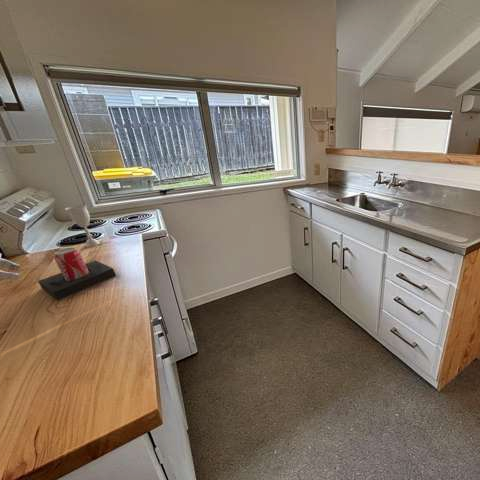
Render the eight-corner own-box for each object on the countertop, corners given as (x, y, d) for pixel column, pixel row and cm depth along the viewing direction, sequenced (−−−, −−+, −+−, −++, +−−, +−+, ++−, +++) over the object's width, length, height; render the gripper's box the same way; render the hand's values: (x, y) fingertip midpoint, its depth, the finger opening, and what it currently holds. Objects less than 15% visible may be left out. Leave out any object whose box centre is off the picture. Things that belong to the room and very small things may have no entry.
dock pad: (57, 300, 79) (53, 292, 78) (42, 288, 85) (37, 281, 84) (116, 275, 91) (113, 268, 90) (98, 267, 98) (95, 260, 97)
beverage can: (63, 286, 86) (46, 254, 81) (83, 276, 92) (68, 246, 87) (77, 288, 85) (61, 255, 80) (96, 278, 90) (82, 247, 85)
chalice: (82, 249, 115) (64, 210, 108) (82, 244, 120) (65, 207, 112) (102, 244, 119) (86, 206, 112) (102, 240, 124) (87, 203, 117)
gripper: (-55, 255, 62) (24, 273, 72) (-40, 237, 75) (25, 254, 85) (-74, 279, 60) (10, 294, 71) (-55, 256, 74) (13, 271, 84)
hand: (18, 272), depth 78 cm, fingers open, 8 cm apart
